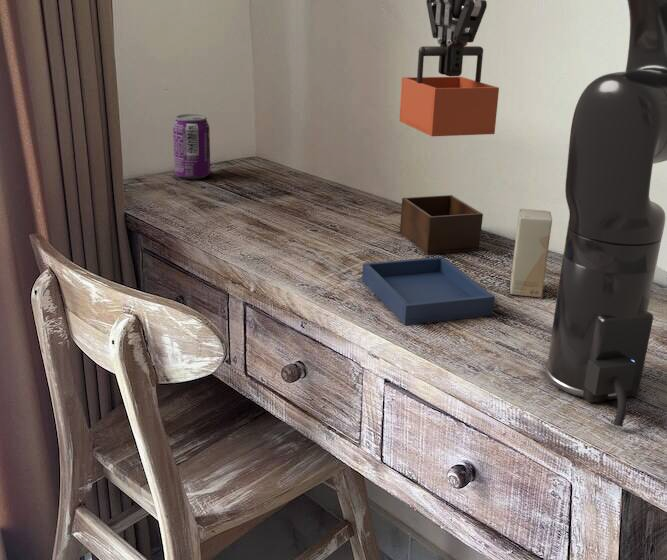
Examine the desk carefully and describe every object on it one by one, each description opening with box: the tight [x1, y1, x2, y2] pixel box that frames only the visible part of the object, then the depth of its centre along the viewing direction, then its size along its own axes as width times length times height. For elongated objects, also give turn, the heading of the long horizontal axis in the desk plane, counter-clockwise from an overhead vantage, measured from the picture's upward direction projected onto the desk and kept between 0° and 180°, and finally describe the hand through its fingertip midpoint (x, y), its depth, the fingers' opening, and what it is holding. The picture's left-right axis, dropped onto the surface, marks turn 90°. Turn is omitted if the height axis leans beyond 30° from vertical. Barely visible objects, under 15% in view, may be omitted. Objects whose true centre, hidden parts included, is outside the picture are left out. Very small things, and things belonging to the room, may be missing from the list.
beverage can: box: [172, 113, 211, 180], centre depth 162 cm, size 7×7×12 cm
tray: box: [361, 256, 496, 326], centre depth 109 cm, size 15×12×3 cm
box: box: [509, 208, 553, 298], centre depth 112 cm, size 5×4×11 cm
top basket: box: [399, 45, 500, 137], centre depth 108 cm, size 11×9×11 cm
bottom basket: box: [399, 194, 484, 255], centre depth 131 cm, size 11×9×6 cm
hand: (449, 74), depth 107 cm, fingers closed on top basket, 1 cm apart
